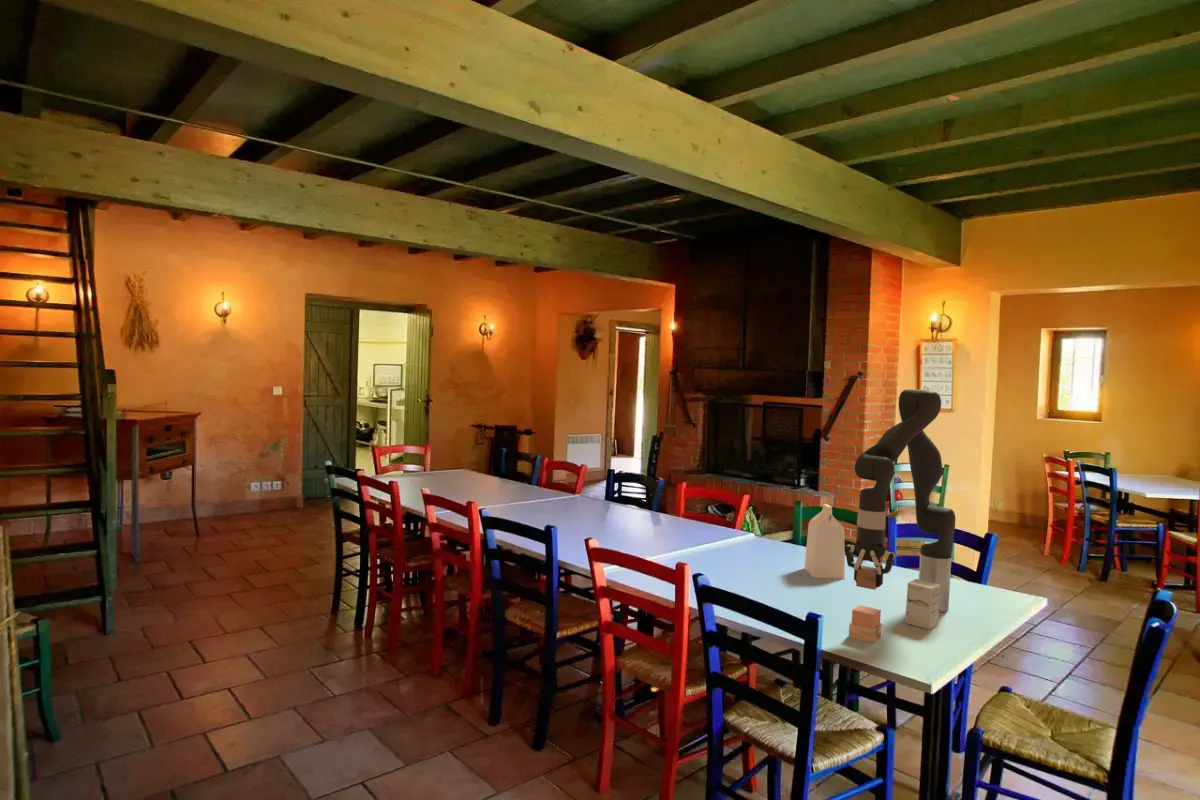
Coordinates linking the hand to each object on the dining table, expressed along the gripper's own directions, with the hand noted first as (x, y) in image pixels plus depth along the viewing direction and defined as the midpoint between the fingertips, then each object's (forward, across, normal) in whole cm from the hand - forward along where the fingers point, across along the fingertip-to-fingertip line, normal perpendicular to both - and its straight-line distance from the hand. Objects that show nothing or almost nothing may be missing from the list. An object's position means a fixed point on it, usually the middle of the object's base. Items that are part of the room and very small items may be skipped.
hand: (867, 584), depth 199 cm
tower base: (+15, 0, 0) cm, 15 cm away
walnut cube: (0, 0, 0) cm, 0 cm away
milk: (+15, +32, -57) cm, 67 cm away
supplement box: (+15, -10, -23) cm, 29 cm away
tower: (+11, 0, 0) cm, 11 cm away
